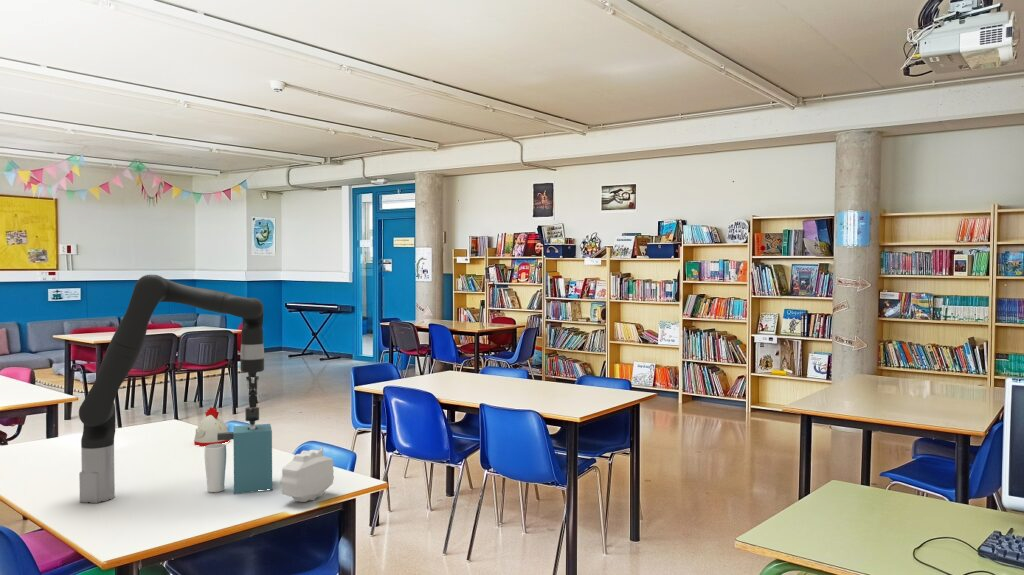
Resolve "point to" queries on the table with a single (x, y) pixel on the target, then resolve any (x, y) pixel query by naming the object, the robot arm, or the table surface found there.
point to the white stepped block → (307, 475)
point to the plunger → (252, 416)
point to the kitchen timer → (210, 429)
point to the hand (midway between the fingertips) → (252, 405)
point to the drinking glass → (215, 466)
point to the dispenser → (251, 457)
